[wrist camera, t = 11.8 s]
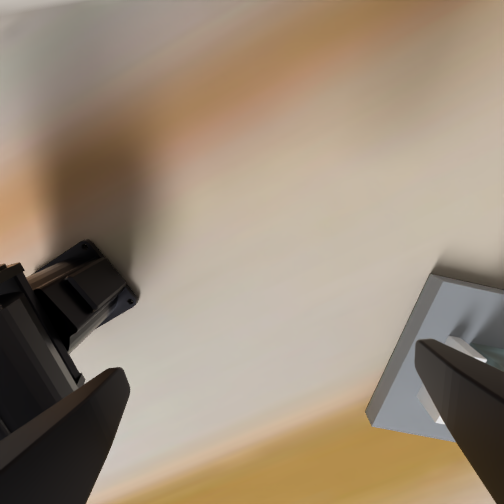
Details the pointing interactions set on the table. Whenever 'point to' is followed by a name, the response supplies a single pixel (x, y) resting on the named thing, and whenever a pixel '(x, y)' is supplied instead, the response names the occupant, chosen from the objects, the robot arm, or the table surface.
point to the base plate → (445, 331)
